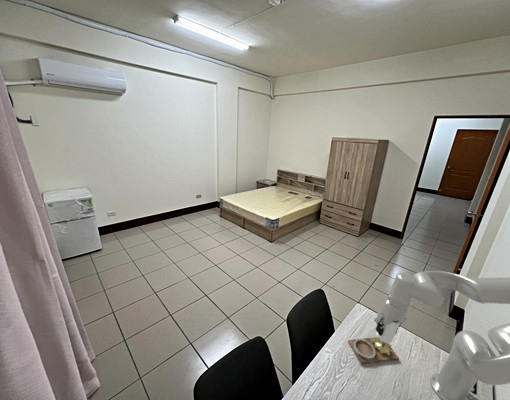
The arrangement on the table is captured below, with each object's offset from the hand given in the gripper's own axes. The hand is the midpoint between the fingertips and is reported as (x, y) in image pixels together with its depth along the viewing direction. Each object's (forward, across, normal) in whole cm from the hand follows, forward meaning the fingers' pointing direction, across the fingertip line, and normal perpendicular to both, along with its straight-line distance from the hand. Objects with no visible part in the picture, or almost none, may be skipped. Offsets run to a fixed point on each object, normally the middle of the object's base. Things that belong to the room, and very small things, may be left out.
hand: (385, 331), depth 95 cm
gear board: (+20, -4, -5) cm, 21 cm away
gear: (+19, -8, -5) cm, 21 cm away
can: (+3, 0, 0) cm, 3 cm away
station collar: (+19, +2, -5) cm, 19 cm away
